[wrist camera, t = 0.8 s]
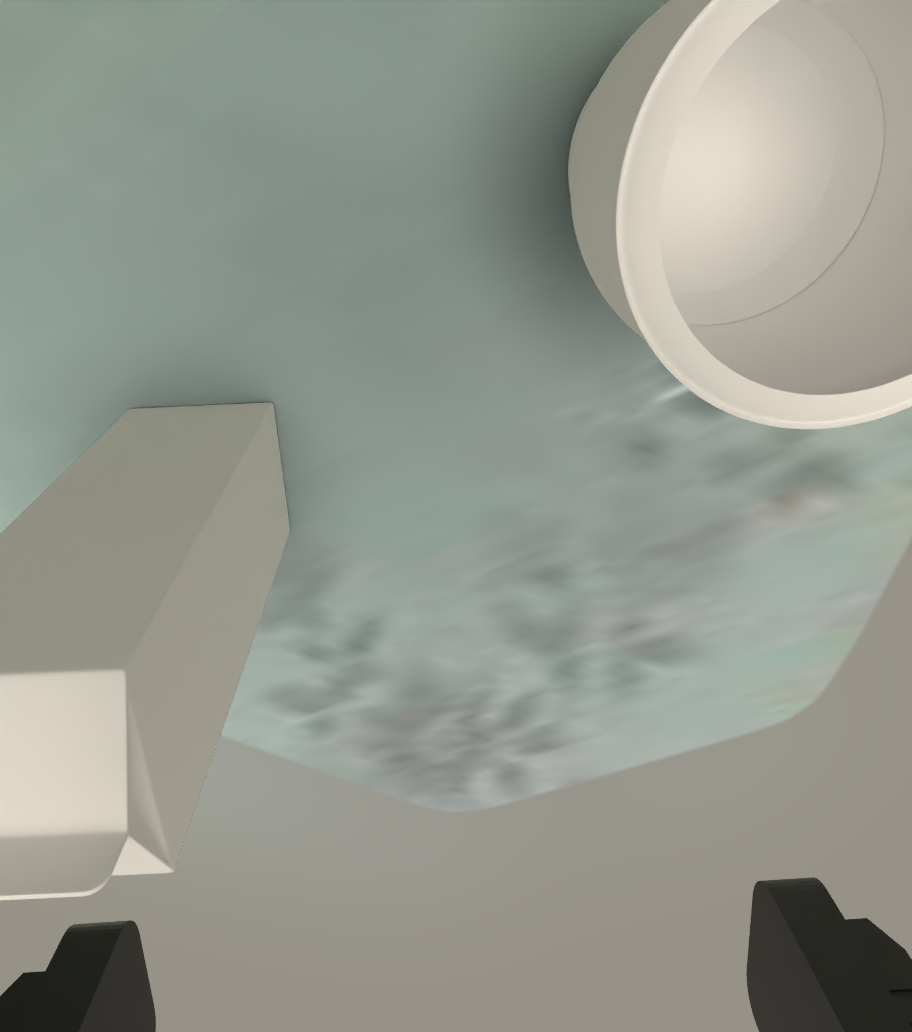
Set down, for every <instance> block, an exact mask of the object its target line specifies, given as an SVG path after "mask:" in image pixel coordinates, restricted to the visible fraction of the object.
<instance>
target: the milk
mask: <svg viewBox="0 0 912 1032" xmlns="http://www.w3.org/2000/svg"><path fill="white" fill-rule="evenodd" d="M289 534H290V523H289V516H288V509H287V501H286V494H285V486H284V479H283V471H282V464H281V457H280V449H279V442H278V434H277V427H276V419H275V412H274V405H273V403H271V402H267V403H245V404H223V405H201V406H179V407H157V408H135V409H129V410H128V411H126V412H125V413H124V414H123V415H122V416H121V417H120V418H119V419H118V420H117V421H116V422H115V423H114V424H113V425H112V426H111V427H110V428H109V429H108V430H107V431H106V432H105V433H104V434H103V435H102V436H101V437H100V438H99V439H98V440H97V441H96V442H95V443H93V444H92V445H91V446H90V447H89V448H88V449H87V450H86V451H85V452H84V453H83V454H82V455H81V456H80V457H79V458H78V459H77V460H76V461H75V462H74V463H73V464H72V465H71V466H70V467H69V468H68V469H67V470H66V471H65V472H64V473H63V474H62V475H61V476H60V477H58V478H57V479H56V480H55V481H54V482H53V483H52V484H51V485H50V486H49V487H48V488H47V489H46V490H45V491H44V492H43V493H42V494H41V495H40V496H39V497H38V498H37V499H36V500H35V501H34V502H33V503H32V504H31V505H30V506H29V507H28V508H27V509H26V510H25V511H24V512H22V513H21V514H20V515H19V516H18V517H17V518H16V519H15V520H14V521H13V522H12V523H11V524H10V525H9V526H8V527H7V528H6V529H5V530H4V531H3V532H2V533H1V534H0V900H13V899H35V898H56V897H77V896H88V895H91V894H93V893H95V892H97V891H98V890H100V889H101V888H102V887H103V886H104V885H105V884H106V883H107V882H108V880H109V879H110V877H111V876H112V875H132V874H154V873H170V872H173V871H174V869H175V867H176V864H177V861H178V858H179V855H180V852H181V850H182V847H183V843H184V841H185V838H186V835H187V832H188V829H189V826H190V823H191V820H192V817H193V814H194V811H195V809H196V806H197V803H198V800H199V797H200V794H201V791H202V788H203V785H204V782H205V779H206V777H207V774H208V771H209V768H210V765H211V762H212V759H213V756H214V753H215V750H216V747H217V744H218V741H219V739H220V736H221V733H222V730H223V727H224V724H225V721H226V718H227V715H228V712H229V709H230V706H231V703H232V701H233V698H234V695H235V692H236V689H237V686H238V683H239V680H240V677H241V674H242V671H243V668H244V665H245V663H246V660H247V657H248V654H249V651H250V648H251V645H252V642H253V639H254V636H255V633H256V630H257V628H258V625H259V622H260V619H261V616H262V613H263V610H264V607H265V604H266V601H267V598H268V595H269V592H270V590H271V587H272V584H273V581H274V578H275V575H276V572H277V569H278V566H279V563H280V560H281V557H282V554H283V552H284V549H285V546H286V543H287V540H288V537H289Z"/></svg>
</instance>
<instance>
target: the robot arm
mask: <svg viewBox="0 0 912 1032" xmlns="http://www.w3.org/2000/svg"><path fill="white" fill-rule="evenodd" d="M752 900H753V901H752V913H751V924H750V936H749V950H748V961H747V986H748V994H749V999H750V1004H751V1008H752V1012H753V1015H754V1018H755V1021H756V1025H757V1027H758V1030H759V1032H912V959H911V958H910V957H909V955H908V953H907V952H906V950H905V949H904V948H902V947H901V946H900V945H899V944H898V943H896V942H895V941H894V940H893V939H892V938H890V937H889V936H888V935H887V934H885V933H884V932H883V931H882V930H881V929H879V928H878V927H877V926H876V925H875V924H873V923H872V922H871V921H870V920H868V919H867V918H863V919H848V920H845V919H844V917H843V915H842V914H841V912H840V910H839V909H838V907H837V906H836V904H835V902H834V901H833V899H832V898H831V896H830V894H829V893H828V891H827V890H826V888H825V886H824V885H823V884H822V883H821V882H820V880H818V879H817V878H798V879H783V880H768V881H758V882H757V883H756V885H755V886H754V890H753V899H752ZM155 1030H156V1018H155V1009H154V1003H153V999H152V994H151V989H150V983H149V979H148V974H147V969H146V964H145V959H144V954H143V949H142V944H141V939H140V934H139V930H138V927H137V925H136V923H135V922H134V921H117V922H104V923H103V922H102V923H87V924H74V925H72V926H70V927H69V928H68V929H67V931H66V932H65V934H64V936H63V937H62V939H61V941H60V943H59V945H58V947H57V949H56V951H55V953H54V955H53V957H52V959H51V961H50V963H49V965H48V967H47V969H46V971H44V972H29V973H23V974H22V975H21V976H20V977H19V978H18V979H17V980H16V981H15V982H14V983H13V984H12V985H11V986H10V987H9V988H8V989H7V990H6V991H5V992H4V993H3V994H2V995H1V996H0V1032H155Z"/></svg>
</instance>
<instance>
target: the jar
mask: <svg viewBox="0 0 912 1032" xmlns="http://www.w3.org/2000/svg"><path fill="white" fill-rule="evenodd" d="M568 181H569V191H570V196H571V210H572V218H573V224H574V229H575V234H576V238H577V241H578V245H579V248H580V251H581V254H582V257H583V259H584V262H585V264H586V267H587V269H588V271H589V273H590V275H591V277H592V279H593V281H594V283H595V284H596V286H597V288H598V289H599V291H600V292H601V294H602V296H603V297H604V298H605V300H606V301H607V303H608V304H609V305H610V306H611V308H612V309H613V310H614V311H615V313H616V314H617V315H618V316H619V317H620V318H621V319H622V320H623V321H624V322H625V323H626V324H627V325H628V326H629V327H630V328H631V329H632V330H633V331H634V332H635V333H636V334H638V335H639V336H640V337H641V338H643V339H644V340H645V341H646V342H647V343H648V344H649V346H650V347H651V349H652V350H653V352H654V353H655V354H656V356H657V357H658V358H659V360H660V361H661V362H662V363H663V365H664V366H665V367H666V368H667V369H668V370H669V371H670V372H671V373H672V374H673V375H674V376H675V377H676V378H677V379H678V380H679V381H680V382H681V383H682V384H683V385H684V386H686V387H687V388H688V389H689V390H691V391H692V392H693V393H695V394H696V395H697V396H699V397H700V398H702V399H703V400H705V401H707V402H708V403H710V404H712V405H713V406H715V407H717V408H719V409H721V410H723V411H725V412H727V413H730V414H732V415H735V416H737V417H740V418H743V419H746V420H749V421H752V422H756V423H760V424H764V425H769V426H775V427H782V428H792V429H825V428H836V427H843V426H849V425H855V424H859V423H864V422H868V421H872V420H875V419H879V418H882V417H885V416H888V415H891V414H894V413H897V412H899V411H902V410H904V409H907V408H909V407H911V406H912V0H669V1H668V2H667V3H665V4H664V5H663V6H662V7H661V8H659V9H658V10H657V11H656V12H655V13H654V14H652V15H651V16H650V17H649V18H648V19H647V20H646V21H645V22H644V23H643V24H642V25H641V26H640V27H639V28H638V29H637V30H636V31H635V32H634V33H633V35H632V36H631V37H630V38H629V39H628V40H627V42H626V43H625V44H624V45H623V46H622V48H621V49H620V50H619V52H618V53H617V54H616V56H615V57H614V58H613V60H612V61H611V63H610V64H609V66H608V67H607V69H606V71H605V72H604V74H603V76H602V77H601V79H600V81H599V83H598V84H597V86H596V87H595V89H594V90H593V92H592V93H591V95H590V96H589V98H588V100H587V102H586V104H585V106H584V107H583V110H582V112H581V114H580V116H579V119H578V121H577V124H576V127H575V130H574V133H573V137H572V141H571V146H570V152H569V161H568Z"/></svg>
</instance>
